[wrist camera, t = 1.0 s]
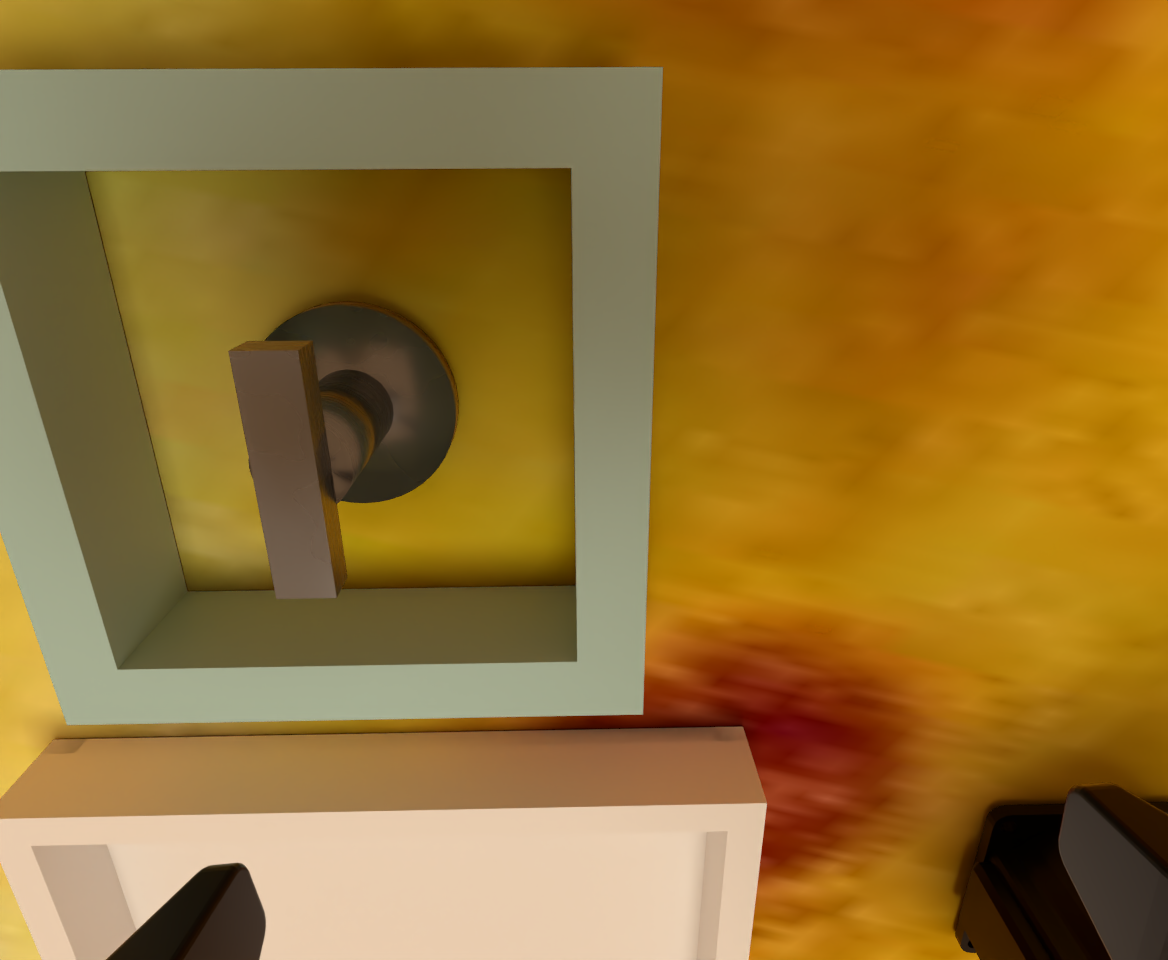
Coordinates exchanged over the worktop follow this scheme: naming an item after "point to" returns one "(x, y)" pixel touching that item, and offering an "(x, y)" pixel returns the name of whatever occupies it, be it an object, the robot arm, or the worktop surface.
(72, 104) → the shallow green box
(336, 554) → the door handle
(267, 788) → the tray
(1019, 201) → the worktop surface
